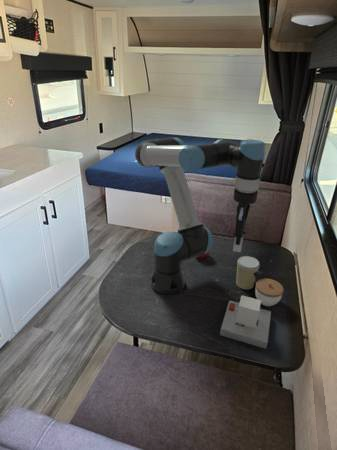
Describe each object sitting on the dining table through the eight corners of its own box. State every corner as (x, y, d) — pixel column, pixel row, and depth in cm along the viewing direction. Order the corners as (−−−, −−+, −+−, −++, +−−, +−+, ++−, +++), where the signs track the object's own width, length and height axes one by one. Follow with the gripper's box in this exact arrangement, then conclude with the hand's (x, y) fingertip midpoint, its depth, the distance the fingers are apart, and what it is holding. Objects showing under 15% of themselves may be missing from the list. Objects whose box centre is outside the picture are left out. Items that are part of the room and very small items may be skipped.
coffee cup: (256, 292, 128) (260, 269, 123) (234, 289, 130) (237, 266, 124) (254, 279, 136) (259, 257, 131) (234, 276, 138) (237, 254, 132)
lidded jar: (259, 289, 130) (263, 271, 126) (283, 300, 124) (288, 282, 120) (248, 302, 122) (252, 283, 118) (273, 314, 116) (278, 295, 112)
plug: (234, 328, 109) (238, 306, 104) (237, 317, 114) (241, 295, 110) (254, 334, 107) (259, 311, 102) (256, 322, 112) (261, 300, 107)
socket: (219, 334, 107) (221, 327, 105) (228, 306, 120) (229, 298, 118) (266, 349, 102) (268, 341, 100) (269, 317, 115) (271, 309, 113)
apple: (192, 251, 156) (193, 235, 151) (208, 252, 156) (210, 235, 151) (193, 260, 148) (194, 243, 144) (210, 261, 148) (212, 244, 144)
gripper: (255, 197, 91) (244, 262, 101) (260, 184, 101) (249, 244, 112) (231, 194, 93) (222, 257, 104) (238, 181, 104) (230, 240, 115)
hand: (236, 250), depth 108 cm, fingers closed
